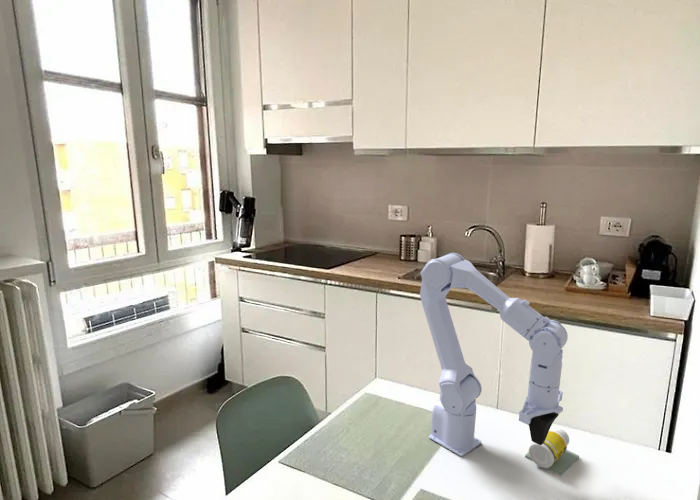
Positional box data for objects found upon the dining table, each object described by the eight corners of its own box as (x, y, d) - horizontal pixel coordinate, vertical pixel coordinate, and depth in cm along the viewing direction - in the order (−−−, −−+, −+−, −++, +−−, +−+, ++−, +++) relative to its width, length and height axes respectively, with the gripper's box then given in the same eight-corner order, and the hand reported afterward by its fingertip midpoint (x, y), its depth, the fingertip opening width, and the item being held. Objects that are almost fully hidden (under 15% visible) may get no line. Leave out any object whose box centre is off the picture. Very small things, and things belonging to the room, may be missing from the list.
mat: (525, 457, 103) (525, 455, 103) (544, 441, 109) (544, 439, 109) (560, 475, 97) (561, 473, 97) (579, 457, 103) (579, 455, 103)
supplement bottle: (557, 462, 96) (578, 441, 102) (538, 439, 98) (559, 420, 105) (541, 473, 99) (562, 452, 105) (523, 450, 102) (544, 431, 108)
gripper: (546, 401, 86) (539, 466, 89) (579, 377, 96) (572, 437, 98) (511, 387, 91) (505, 448, 94) (546, 366, 101) (540, 422, 103)
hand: (537, 441), depth 96 cm, fingers closed
